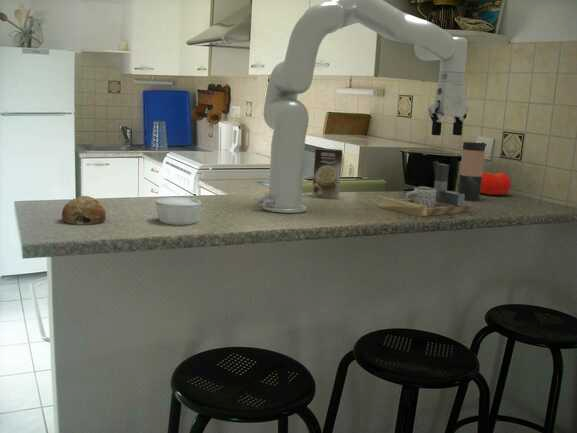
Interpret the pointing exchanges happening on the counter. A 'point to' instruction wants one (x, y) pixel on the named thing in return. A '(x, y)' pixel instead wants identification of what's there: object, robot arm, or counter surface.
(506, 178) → the tomato
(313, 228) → the counter surface
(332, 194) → the coffee box
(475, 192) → the travel mug
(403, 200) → the wooden tray
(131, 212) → the counter surface
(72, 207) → the bread roll
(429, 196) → the mug
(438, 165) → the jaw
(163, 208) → the ramekin
